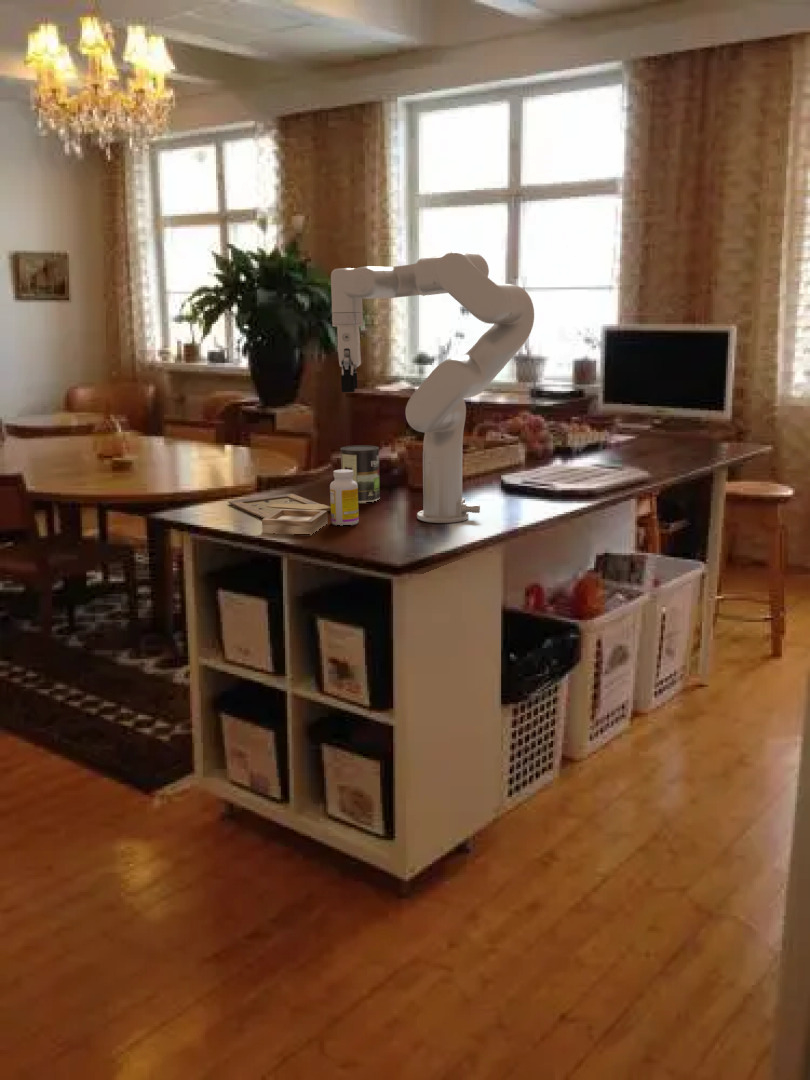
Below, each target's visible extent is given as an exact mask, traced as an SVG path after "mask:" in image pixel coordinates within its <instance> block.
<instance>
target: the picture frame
mask: <svg viewBox="0 0 810 1080" xmlns="http://www.w3.org/2000/svg"><path fill="white" fill-rule="evenodd" d="M227 503H228V505H229V506H231V507H233V508H235V509H238V510H240V511H241V512H244V513H246V512H247V513H249V514H251V515H254V516H255V515H256V517H258V518H260V517H261V518H260V519H262V518H263V519H264V518H265V517H267V516H269V515H271V514H272V513H274V512H276V511H277V510H279V509H298V510H323V511H330V512H331V505H330V506H329V505H326V504H323V503H322V504H321V503H319V502H316V501H313V500H311V499H308V498H305V497H302V496H299V495H297V494H295V493H286V494H279V495H278V494H277V495H269V496H262V497H261V496H260V497H255V498H254V497H253V498H245V499H236V500H230V501H229V500H228V502H227Z"/></svg>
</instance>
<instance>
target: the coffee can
mask: <svg viewBox="0 0 810 1080" xmlns="http://www.w3.org/2000/svg"><path fill="white" fill-rule="evenodd" d="M339 451H340V461H341V462H340V463H341V467H340V468H341V469H348V470H353V477H352V479H353V481H355V482H356V483H357V485H358V504H367V503H366V502H372V503H375V502H374V501H376V502H378V501H377V500H379V499H380V500H381V497H380V458H379V457H380V452H379V451H380V447H379V446H376V445H366V444H364V445H363V444H362V445H361V444H360V445H347V446H342V447H340V450H339ZM341 469H340V470H341ZM380 500H379V501H380Z"/></svg>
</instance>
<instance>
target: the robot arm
mask: <svg viewBox="0 0 810 1080" xmlns="http://www.w3.org/2000/svg"><path fill="white" fill-rule="evenodd" d="M489 272H490V269H489V265H488V262H487V261H486V259H485V258H484V257H483V256H482V255H481V254H479V253H476V252H472V251H457V250H455V251H450V252H447V253H446V254H444V255H438V256H427V257H421V258H420V259H418V260H417V262H416V263H412V264H404V265H397V266H360V267H357V268H354V267H353V268H351V267H345V268H334V269H333V270H332V271H331V273H330V285H331V286H330V287H331V312H332V313H331V318H332V320H331V321H332V327H335V328H337V332H336V333H337V349H338V350H337V352H338V354H337V355H338V363H339V367H341V375H340V379H341V380H340V382H341V386H340V387H341V392H342V393H355V391H356V389H358V372H357V368H359V366H361V365H362V360H361V359H362V358H361V357H362V356H361V338H360V337H361V334H360V327H363V326H364V318H363V314H364V313H363V312H364V311H363V310H364V309H363V299H368V300H369V299H370V300H375V299H387V300H388V299H394V298H395V299H396V298H404V297H414V296H423V297H424V296H433V295H441V294H449V295H450V296H451V297H452V298H453V299H455V301H457V303H459V304H460V305H461V306H462V307H463V308H464V309H466V311H468V312H469V313H470V314H471V315H472V316H474V318H476V319H477V320H479V321H480V322H483V323H485V324H490V325H491V324H493V325H492V326H491V327H490V328H489V329H488V330H487V331H485V332H484V333H483V335H481V336H480V338H478V340H477V342H476V343H474V344H473V346H472V347H471V348H469V350H468V351H467V352H466V353H465V354H463V355H460V356H455V357H450V358H447V359H446V360H443V361H442V362H440V363H439V364H438V365H437V366H436V367H435V368H434V369H433V370H432V372H431V373H430V374H429V375H428V376H427V378H425V379H424V381H423V382H422V383H421V384H420V386H418V387H417V389H416V390H415V391H414V392H413V393H412V395H411V396H410V397H409V399H408V401H407V403H406V406H405V418H406V421H407V422H406V423H408V425H409V426H410V427H411V428H412V429H413V430H415V431H416V432H419V433H420V432H421V433H424V435H423V443H422V445H423V446H422V450H423V451H422V489H423V490H422V492H423V494H422V495H423V496H422V499H423V501H422V503H423V504H422V505H423V510H420V511H418V512H416V517H417V519H418V520H419V521H421V522H426V523H433V524H452V523H459V522H464V521H466V520H468V519H469V513H471V514H472V513H473V514H480V512H481V505H480V504H477V503H467V502H466V498H464V497H463V455H464V453H463V449H464V448H463V443H464V442H463V441H464V428H465V423H466V415H467V407H466V401H465V399H469V398H472V397H476V396H478V395H480V394H481V393H482V392H484V391H485V389H486V388H487V387H488V386H489V385H490V383H491V382H492V381H494V379H495V378H496V377H497V376H498V375H499V373H500V372H501V371H503V369H504V368H505V366H507V364H509V362H510V361H511V359H512V358H514V356H515V355H516V354H517V353H518V352H519V351H520V350H521V348H522V347H523V345H524V344H525V343H526V342H527V340H528V338H529V337H530V334H531V333H532V330H533V327H534V322H535V308H534V303H533V300H532V297H531V296H530V294H529V293H528V292H527V291H526V289H524V288H523V287H521V286H519V285H515V284H512V283H495V282H494V281H493V280H492V279H490V277H489Z"/></svg>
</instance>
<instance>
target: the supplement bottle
mask: <svg viewBox="0 0 810 1080" xmlns="http://www.w3.org/2000/svg"><path fill="white" fill-rule="evenodd" d="M352 477H353V470H348V469H335V470H333V478H334V480H333V481H331V482H330V484H329V495H330V497H329V498H330V501H329V502H330V507H331V511H330V520H331V521H330V522H331V524H332V525H334V526H337V525H340V526H339V527H344V526H343V525H351V526H355V525H357V524H358V523H359V520H360V519H359V518H360V517H359V516H360V515H359V503H358V485H357V483H356V482H355V481H353V479H352Z"/></svg>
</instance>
